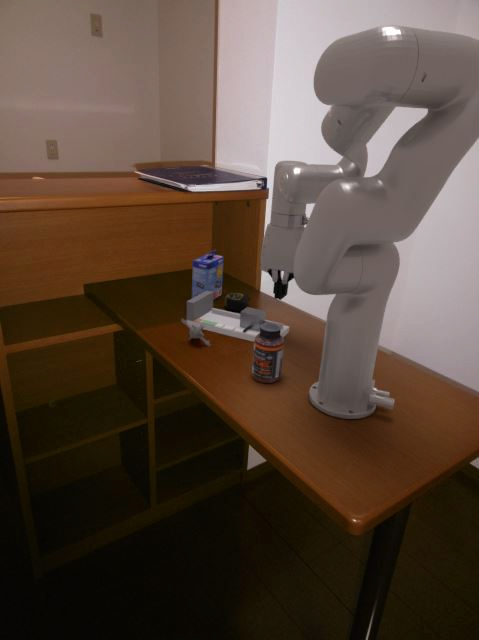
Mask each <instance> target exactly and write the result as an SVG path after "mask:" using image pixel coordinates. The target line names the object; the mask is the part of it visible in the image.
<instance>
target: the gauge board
mask: <svg viewBox="0 0 479 640" xmlns="http://www.w3.org/2000/svg"><path fill="white" fill-rule="evenodd" d="M186 319H187V323H188V324H189V325H190V326H191V327H192V325H194V326H195V327H198V326H199V325H200V324H201V323H202V324H201V325H203V327H204V326H205V327H204V328H203V330H205V331H208V332H211V333H212V332H213V333H217V334H220V335H224V336H228V337H232V338H236V339H241V340H246V341H249V342H252V343H253V342H254V341H255V337H256V336H257V335H258V334H259V333H260V330H259V331H255V330H250V329H249V330H247V331H246V332H243V330H244V329H246V328H242V327H240V313H238V312H232V311H229V310H228V311H227V310H225V309H220V308H215V307H214V299H213V292H212V291H205V292H203V293H201V294H199V295H198V296H196V297H194V298H192V297H191V299H188V300H186ZM265 323H273V324H277V325H279V326H280V328H281V330H280V335H281V336H282V337H283V338H284V337H285V336H287V334H289V332H290V326H288V325H285V324H284V323H281V322H278V321H277V322H276V321H273V320H269V319H265ZM199 327H200V326H199Z"/></svg>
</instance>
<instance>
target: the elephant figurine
mask: <svg viewBox="0 0 479 640" xmlns="http://www.w3.org/2000/svg"><path fill="white" fill-rule="evenodd" d="M180 322H181V323H182V324H183V325H185V326H186V327H187V328H188V329H189V335H190V336H189V338H188V339H187V341H190V340H191V339H200V340H201V341H202V342H203V343H204V345H206V346H208V347H211V345H212V344H211V343H210V342H211V340H207V339H205V338H204V337H205V334H204V333H203V332H202V331H203V330H204V329H203V328H204V327H205V326H204V327H203V325H201V324H202V323H201V324H200V325H199V326H200V327H199V326H198V327H195V326H194V325H192V326H190V325H189V324H188V323H187V318H186V319H184V318H182V319H180Z"/></svg>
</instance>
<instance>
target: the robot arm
mask: <svg viewBox="0 0 479 640" xmlns="http://www.w3.org/2000/svg"><path fill="white" fill-rule="evenodd" d="M313 74H314V75H313V91H314V93H315V96H316V98H317V100H318V101H319V102H321V103H322V104H324V105H327V106H330V108H329V110H328V111H327V112H326V113H325V114H326V115H324V117H323V119H322V121H321V126H320V128H321V130H320V131H321V136H322V137H323V140H324V141H325V143H326V145H328V146H327V147H329V148H330V149H331V150H333V152H335V153H336V154H338V155H340V157H342V158H341V159H340V161H338V162H337V163H336V164H309V163H306V162H303V161H298V160H281V161H278V162H277V163H276V164H275V166H274V173H273V185H272V187H273V188H272V197H271V209H270V221H269V223H268V224H266V228H265V231H264V236H263V241H262V245H261V246H262V247H261V253H260V267H259V269H260V271H263V272H264V273H267V274H268V275H269V276H270V277H271V279H272V282H273V290H272V291H273V295H274V297H273V298H274V299H275V300H277V299H278V300H279V301H281V300H282V299H284V298H285V297H286V296H287V295H288V292H289V290H288V289H289V283H290V281H292V280H294V281H295V284H296V286H297V287H298V288H299V289H300V290H301V291H302V292H304V293H306V294H308V295H310V296H311V295H312V296H331V295H334V297H333V299H332V301H331V302H330V304H329V306H328V307H329V308H328V310H327V315H326V321H325V329H324V335H323V344H322V350H321V360H320V368H319V376H318V381H316V382H314V383H313V384H312V385H310V387H309V390H308V400H309V401H310V404H312V406H314V407H315V408H316V409H317V410H318V411H320V412H322V413H324V414H326V415H328V416H331V417H335V418H337V419H338V418H340V419H346V420H353V419H354V420H355V419H363V418H366V417H368V416H371V415H372V414H373V413H374V412H375V410H376V408H377V406H380V407H382V408H385V409H388V410H393V408H394V404H395V398H391V397H390V396H391V395H390V394H391V393H390V391H386V390H380V389H378V387H376V386H375V384H376V379H373V376H374V369H375V364H376V359H377V354H378V349H379V348H378V347H379V344H380V337H381V331H382V328H383V327H382V326H383V323H384V317H385V312H386V308H387V304H388V300H389V298H390V294H391V292H392V289H393V287H394V285H395V282H396V280H397V276H398V274H399V272H400V271H399V270H400V263H401V262H400V261H401V258H400V252H399V250H398V247H397V246H396V245H395V243H398V242H399V243H400V242H403V241H404V240H407V239H408V238H409V237H411V236H412V235H413V233H414V232H415V231H416V229H417V228H418V227H419V226H420V224H421V222H422V221H423V219H425V218H424V217H425V216H426V215H427V213H428V212H429V210H430V208H431V207H432V205H433V204H434V202H435V200H436V199H437V197H438V196H439V194H440V193H441V191H442V189H443V188H444V186H445V185H446V184H447V182H448V180H449V178H450V177H451V175H452V174H453V172H454V171H455V169H456V168H457V166H458V165H459V163H461V161H462V160H463V158H464V157H465V156H466V154H468V152H470V150H471V149H472V147H473V146H474V145H475V144H476V142H477V141H478V139H479V39H476V38H475V37H471V36H469V35H468V36H467V35H465V34H460V33H459V34H458V33H454V32H448V31H440V30H431V29H424V28H418V27H412V26H411V27H410V26H404V25H390V24H389V25H381V26H376V27H373V28H369V29H365V30H363V31H359V32H356V33H351V34H350V35H349V34H348V35H346V36H343V37H340V38H338V39H336V40H335V41H333V42H332V43H330V44H329V45H328V46H327V47H326V49H324V51H323V52H322V54H321V56H320V57H319V59H318V62H317V63H316V66H315V70H314V73H313ZM396 107H398V108H411V109H426V110H427V113H426V114H425V116H423V117H422V118H421V119H420V120H418V121H417V122H416V123H415V124H413V125H412V126H411V127H410V128H409V129H408V130H406V131H405V132H404V134H403V135H402V136H400V138H399V139H398V140H397V142H395V144H394V146H393V147H392V149H391V150H390V152H389V155H388V157H387V158H386V161H385V163H384V165H383V166H382V168H381V169H380V170H379V172H378V173H377V174H374V175H372V176H370V177H369V176H368V177H367V176H366V177H365V175H366V174H365V173H366V171H367V168H368V167H367V166H368V160H369V159H368V157H369V153H368V147H367V144H368V143H369V142H370V140H371V139H372V138H373V136H374V135H376V133H377V132H378V130H379V129H380V128H381V127H382V126H383V124H384V123H385V122H386V120H387V119H388V118H389V117H390V115H391V114H392V112H393V111H395V109H396ZM311 204H314V205H313V207H312V210H311V213H310V216H309V217H307V213H306V210H307V205H311ZM282 272H283V275H282Z"/></svg>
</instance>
